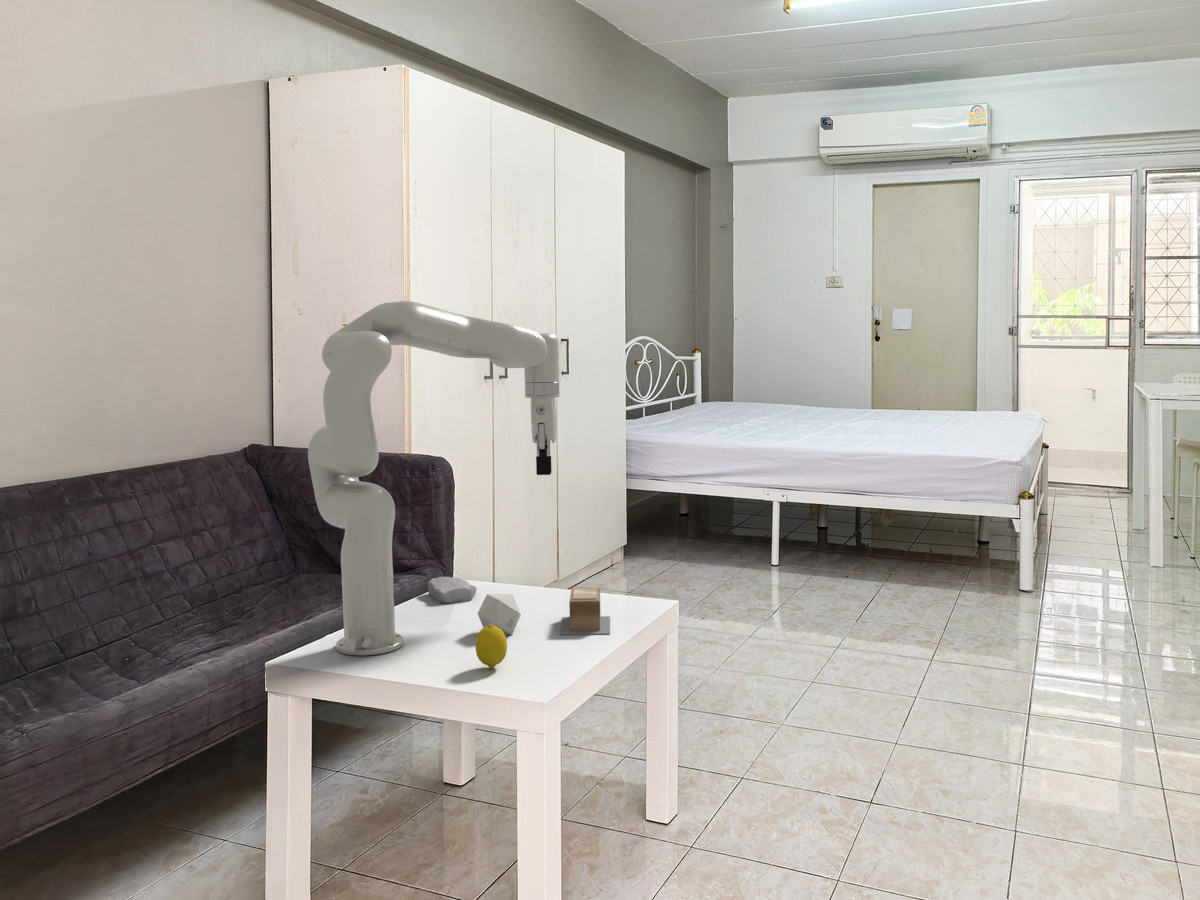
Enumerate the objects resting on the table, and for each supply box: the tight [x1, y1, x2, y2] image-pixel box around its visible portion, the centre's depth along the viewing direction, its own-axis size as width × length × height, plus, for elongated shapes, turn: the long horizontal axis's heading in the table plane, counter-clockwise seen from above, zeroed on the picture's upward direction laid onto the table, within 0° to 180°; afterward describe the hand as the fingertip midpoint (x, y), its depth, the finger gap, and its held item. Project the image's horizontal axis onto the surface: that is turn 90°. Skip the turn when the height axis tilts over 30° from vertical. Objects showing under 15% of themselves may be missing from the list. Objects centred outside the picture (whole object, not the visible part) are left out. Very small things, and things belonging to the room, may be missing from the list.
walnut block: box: [568, 587, 601, 631], centre depth 199 cm, size 6×6×11 cm
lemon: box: [475, 624, 508, 669], centre depth 172 cm, size 6×6×8 cm
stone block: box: [427, 576, 477, 605], centre depth 224 cm, size 12×5×10 cm
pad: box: [559, 615, 611, 636], centre depth 198 cm, size 13×10×1 cm
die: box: [477, 593, 522, 636], centre depth 194 cm, size 8×9×10 cm
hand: (544, 474), depth 213 cm, fingers closed
